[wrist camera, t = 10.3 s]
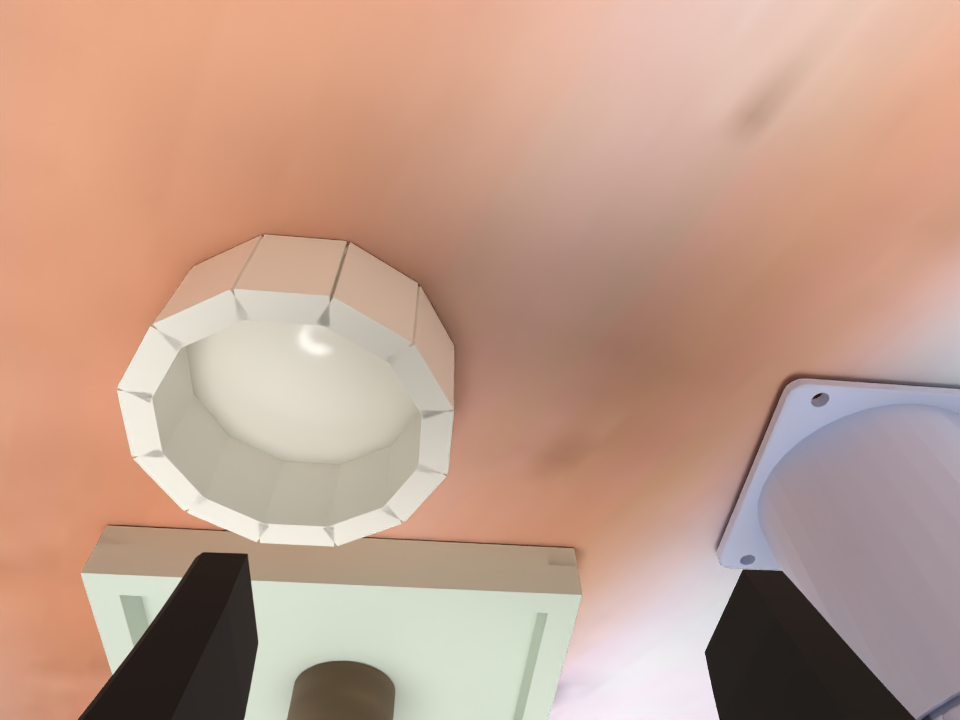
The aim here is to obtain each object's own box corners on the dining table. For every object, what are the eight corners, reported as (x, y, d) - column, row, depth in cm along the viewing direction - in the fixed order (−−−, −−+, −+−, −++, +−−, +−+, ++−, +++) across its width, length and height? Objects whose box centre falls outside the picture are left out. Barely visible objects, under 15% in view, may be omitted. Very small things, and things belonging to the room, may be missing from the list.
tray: (573, 548, 25) (582, 595, 23) (516, 777, 34) (519, 823, 32) (106, 525, 24) (80, 572, 22) (172, 769, 33) (157, 816, 31)
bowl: (463, 250, 19) (464, 306, 16) (441, 480, 23) (439, 551, 21) (142, 224, 18) (91, 277, 15) (183, 465, 22) (149, 537, 20)
